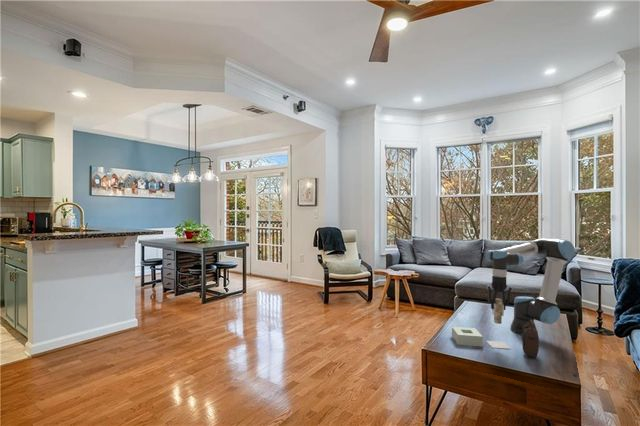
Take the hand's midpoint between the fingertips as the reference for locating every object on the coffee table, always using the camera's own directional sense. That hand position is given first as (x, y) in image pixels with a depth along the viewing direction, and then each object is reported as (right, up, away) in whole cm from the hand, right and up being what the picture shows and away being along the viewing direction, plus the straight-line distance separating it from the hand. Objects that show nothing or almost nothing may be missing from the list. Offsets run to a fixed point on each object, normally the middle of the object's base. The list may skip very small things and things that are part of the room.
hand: (497, 314), depth 201 cm
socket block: (-17, -18, +5) cm, 25 cm away
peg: (0, -5, 0) cm, 5 cm away
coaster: (0, -18, 0) cm, 18 cm away
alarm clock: (+9, -19, -15) cm, 26 cm away
